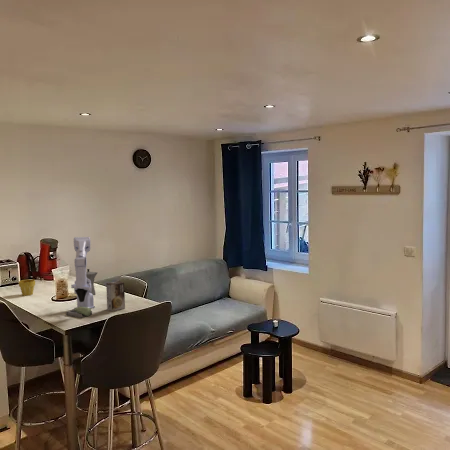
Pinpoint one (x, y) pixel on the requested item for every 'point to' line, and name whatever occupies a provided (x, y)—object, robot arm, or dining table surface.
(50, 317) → the dining table surface
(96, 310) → the dining table surface
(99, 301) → the dining table surface
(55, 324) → the dining table surface
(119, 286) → the coffee box
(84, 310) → the bottle
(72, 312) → the u rest
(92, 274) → the coffeepot
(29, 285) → the plant pot
